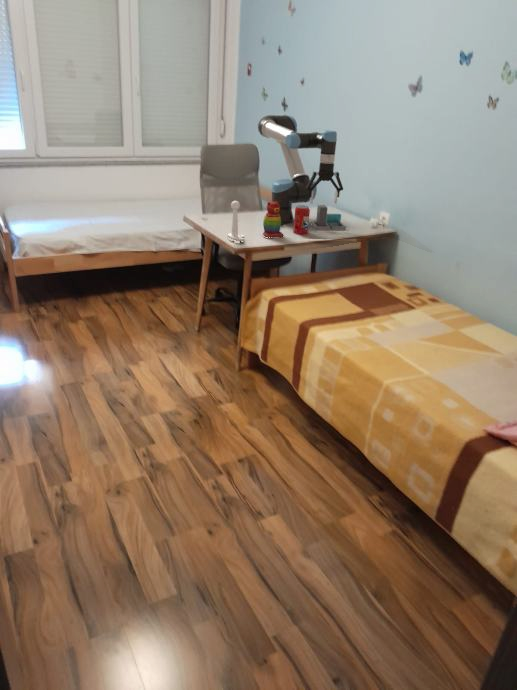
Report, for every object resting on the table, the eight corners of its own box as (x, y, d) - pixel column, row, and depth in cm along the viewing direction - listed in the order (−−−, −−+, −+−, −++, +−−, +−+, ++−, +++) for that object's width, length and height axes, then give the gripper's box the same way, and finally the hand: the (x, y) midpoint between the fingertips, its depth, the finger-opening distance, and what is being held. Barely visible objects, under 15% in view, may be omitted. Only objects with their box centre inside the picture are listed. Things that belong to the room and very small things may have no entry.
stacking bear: (266, 239, 271) (268, 204, 263) (258, 233, 279) (260, 200, 271) (285, 237, 275) (287, 203, 267) (276, 232, 283) (278, 199, 275)
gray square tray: (317, 234, 284) (317, 228, 282) (309, 225, 298) (310, 220, 297) (347, 234, 286) (348, 228, 285) (338, 225, 301) (338, 220, 300)
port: (331, 230, 288) (332, 219, 285) (325, 224, 299) (326, 213, 296) (345, 230, 289) (346, 219, 286) (338, 224, 300) (339, 213, 297)
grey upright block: (318, 229, 288) (320, 207, 283) (315, 226, 294) (317, 204, 288) (325, 229, 289) (327, 207, 283) (322, 226, 294) (324, 204, 289)
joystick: (225, 238, 270) (225, 198, 260) (238, 236, 273) (239, 197, 264) (236, 244, 262) (237, 203, 252) (249, 242, 265) (250, 202, 256)
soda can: (291, 232, 284) (293, 204, 277) (305, 232, 286) (307, 204, 279) (295, 236, 277) (297, 208, 270) (309, 236, 279) (312, 208, 272)
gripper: (305, 163, 270) (302, 204, 279) (352, 163, 273) (347, 204, 283) (302, 161, 276) (299, 201, 286) (347, 161, 280) (343, 201, 290)
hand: (323, 203), depth 285 cm, fingers open, 13 cm apart
